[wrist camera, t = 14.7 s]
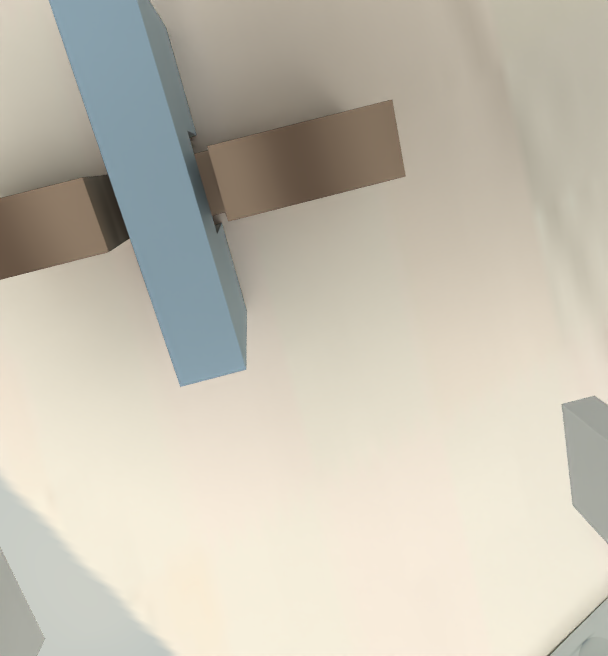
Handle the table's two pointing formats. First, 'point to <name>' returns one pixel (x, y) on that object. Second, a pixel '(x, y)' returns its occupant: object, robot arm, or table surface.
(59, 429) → the table surface
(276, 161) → the slotted beam
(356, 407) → the table surface
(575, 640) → the skincare box
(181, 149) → the long blue bar
